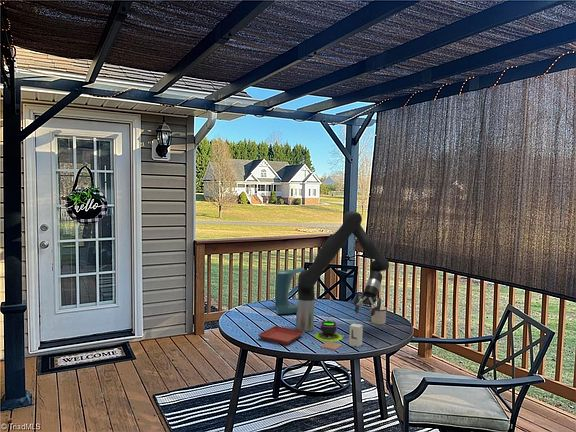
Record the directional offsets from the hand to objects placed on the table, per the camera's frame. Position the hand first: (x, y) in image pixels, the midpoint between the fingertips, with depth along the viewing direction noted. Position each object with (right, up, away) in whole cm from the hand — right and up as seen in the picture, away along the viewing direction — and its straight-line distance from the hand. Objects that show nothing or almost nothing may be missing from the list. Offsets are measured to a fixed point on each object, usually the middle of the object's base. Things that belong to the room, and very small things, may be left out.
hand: (363, 313), depth 220 cm
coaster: (-19, -14, -12) cm, 26 cm away
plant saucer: (-44, -13, -2) cm, 46 cm away
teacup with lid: (+14, -13, +34) cm, 39 cm away
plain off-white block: (-6, -14, -8) cm, 17 cm away
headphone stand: (-37, -11, +53) cm, 65 cm away
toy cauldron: (-18, -13, +3) cm, 23 cm away
